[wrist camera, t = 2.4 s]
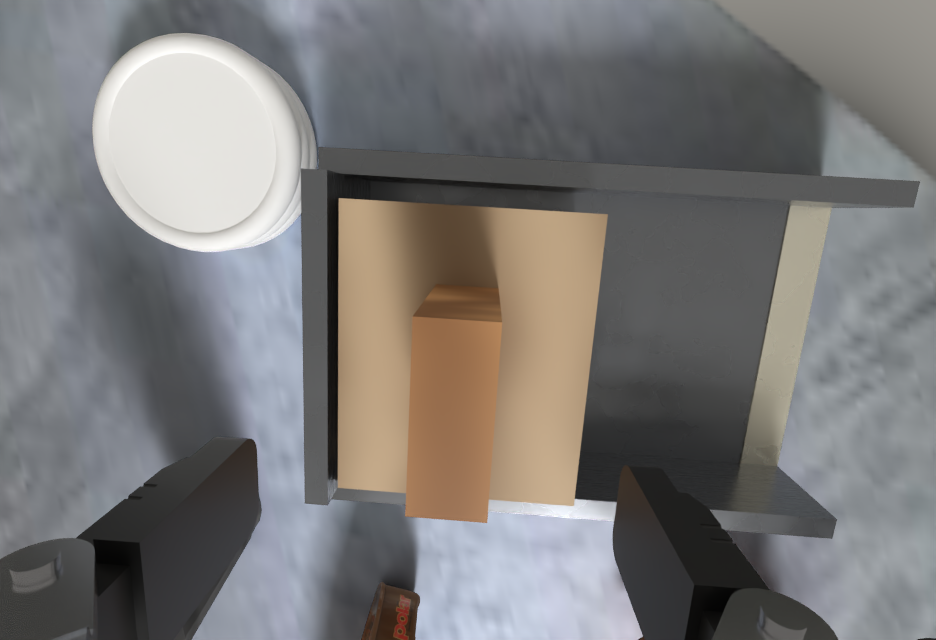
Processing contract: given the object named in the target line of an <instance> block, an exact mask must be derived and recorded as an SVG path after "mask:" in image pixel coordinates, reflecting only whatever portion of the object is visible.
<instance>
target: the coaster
mask: <svg viewBox="0 0 936 640" xmlns="http://www.w3.org/2000/svg"><path fill="white" fill-rule="evenodd" d="M92 132H93V145H94V151H95V157H96V160H97V164H98V167H99V170H100V173H101V175H102V178H103V180H104V183H105V184H106V186H107V188H108V190H109V192H110V194H111V195H112V197H113V198H114V200H115V201H116V202H117V204H118V205H119V207H120V208H121V209H122V210H123V211H124V212H125V214H126V215H127V216H128V217H129V218H130V219H131V220H132V221H134V222H135V223H136V224H137V225H138V226H139V227H141V228H142V229H143V230H145V231H146V232H148V233H149V234H151V235H152V236H154V237H156V238H158V239H160V240H162V241H164V242H166V243H169V244H171V245H174V246H177V247H179V248H184V249H188V250H192V251H200V252H221V251H227V250H234V249H240V248H247V247H253V246H256V245H259V244H262V243H265V242H267V241H269V240H271V239H273V238H275V237H277V236H278V235H279V234H281V233H282V232H284V231H285V230H286V229H287V228H288V227H289V226H291V225H292V224H293V223H294V221H295V220H296V219H297V218H298V216H299V215H300V214H301V168H303V169H317V148H316V141H315V136H314V131H313V128H312V125H311V122H310V119H309V116H308V114H307V112H306V110H305V108H304V106H303V104H302V102H301V101H300V99H299V97H298V96H297V94H296V93H295V92H294V90H293V89H292V88H291V86H290V85H289V84H288V83H287V82H286V81H285V80H284V79H283V78H282V77H281V76H280V75H279V74H278V73H276V72H275V71H274V70H273V69H271V68H270V67H269V66H267V65H266V64H264V63H262V62H261V61H259V60H258V59H256V58H255V57H253V56H251V55H250V54H248V53H247V52H246V51H244V50H242V49H240V48H239V47H237V46H235V45H234V44H231V43H229V42H227V41H224V40H222V39H219V38H216V37H212V36H208V35H202V34H192V33H174V34H167V35H162V36H157V37H154V38H152V39H149V40H146V41H144V42H142V43H141V44H139V45H137V46H135V47H133V48H132V49H131V50H129V51H128V52H127V53H126V54H124V55H123V56H122V57H121V58H120V59H119V60H118V61H117V62H116V63H115V65H114V66H113V67H112V68H111V70H110V71H109V73H108V74H107V76H106V77H105V79H104V81H103V83H102V86H101V88H100V90H99V93H98V96H97V99H96V102H95V108H94V113H93V126H92Z"/></svg>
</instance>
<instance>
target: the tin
mask: <svg viewBox="0 0 936 640" xmlns="http://www.w3.org/2000/svg"><path fill="white" fill-rule="evenodd" d="M419 604H420V597H419V595H418V594H417V593H415V592H412V591H409V590H405V589H401V588H397V587H393V586H389V585H385V583H384V582H381V583H380V584H379V585H378V588H377V590H376V593H375V597H374V600H373V603H372V606H371V609H370V612H369V615H368V619H367V622H366V625H365V629H364V632H363V635H362V639H361V640H415V631H416V621H417V610H418V606H419Z"/></svg>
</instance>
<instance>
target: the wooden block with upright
mask: <svg viewBox="0 0 936 640" xmlns="http://www.w3.org/2000/svg"><path fill="white" fill-rule="evenodd" d="M607 218H608V214H594V213H577V212H560V211H544V210H527V209H511V208H494V207H478V206H461V205H445V204H428V203H411V202H395V201H378V200H362V199H345V198H339V260H338V488H346V489H359V490H372V491H384V492H397V493H406V511H405V516H407V517H420V518H432V519H445V520H457V521H470V522H482V523H487V517H488V504H489V500H500V501H512V502H525V503H538V504H551V505H564V506H574V499H575V491H576V482H577V474H578V465H579V457H580V448H581V440H582V431H583V423H584V414H585V405H586V397H587V388H588V380H589V371H590V363H591V354H592V346H593V337H594V329H595V320H596V312H597V303H598V294H599V286H600V277H601V269H602V260H603V252H604V243H605V235H606V226H607Z"/></svg>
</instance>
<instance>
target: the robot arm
mask: <svg viewBox="0 0 936 640" xmlns="http://www.w3.org/2000/svg"><path fill="white" fill-rule="evenodd" d="M258 509H259V494H258V468H257V448H256V444H255V442H254V440H252V439H247V438H232V437H215V438H213V439H212V440H211V441H209V442H208V443H207V444H206V445H205V446H203V447H202V448H201V449H200V450H199V451H197V452H196V453H195V454H194V455H193V456H192V457H190V458H185V459H183V460H180V461H178V462H176V463H174V464H172V465H170V466H168V467H165V468H163V469H162V470H160V471H159V472H158V473H157V474H155V475H154V476H153V477H152V478H150V479H149V480H148V481H147V482H145V483H144V486H143V487H139V488H138V489H137V490H135V491H134V492H133V493H132V494H130V495H129V497H128V499H124V500H123V501H122V502H120V503H119V504H118V505H117V506H115V507H114V508H113V509H112V510H110V511H109V512H108V513H107V514H105V515H104V516H103V517H102V518H100V519H99V520H98V521H97V522H95V523H94V524H93V525H92V526H90V527H89V528H88V529H87V530H85V531H84V532H83V533H82V534H80V535H79V536H78V537H77V538H62V539H54V540H49V541H44V542H40V543H37V544H33V545H30V546H27V547H25V548H22V549H19V550H17V551H15V552H13V553H11V554H9V555H7V556H5V557H3V558H1V559H0V640H174V638H175V637H176V636H177V634H178V633H179V632H180V630H181V629H182V627H183V626H184V625H185V623H186V622H187V621H188V619H189V618H190V616H191V615H192V614H193V612H194V611H195V610H196V608H197V607H198V605H199V604H200V603H201V601H202V600H203V599H204V597H205V596H206V594H207V593H208V592H209V590H210V589H211V588H212V586H213V585H214V583H215V582H216V581H217V579H218V578H219V577H220V575H221V574H222V572H223V571H224V570H225V568H226V567H227V566H228V564H229V563H230V561H231V560H232V559H233V557H234V556H235V555H236V553H237V552H238V550H239V549H240V548H241V546H242V545H243V544H244V542H245V541H246V539H247V538H248V537H249V535H250V534H251V532H252V530H253V528H254V525H255V523H256V519H257V515H258ZM613 550H614V556H615V560H616V563H617V566H618V569H619V572H620V574H621V577H622V580H623V582H624V585H625V588H626V591H627V593H628V596H629V599H630V601H631V604H632V607H633V610H634V612H635V615H636V618H637V620H638V623H639V626H640V629H641V631H642V634H643V637H644V639H645V640H838V638H837V636H836V634H835V633H834V631H833V630H832V629H831V628H830V626H829V625H828V624H827V623H826V622H825V621H824V620H823V619H822V618H821V617H820V616H818V615H817V614H816V613H815V612H813V611H812V610H811V609H809V608H808V607H806V606H805V605H803V604H801V603H799V602H798V601H796V600H794V599H792V598H790V597H787V596H785V595H782V594H780V593H777V592H773V591H770V590H769V589H768V587H767V586H766V585H765V583H764V582H763V581H762V579H761V578H760V577H759V575H758V574H757V573H756V571H755V570H754V569H753V567H752V566H751V565H750V563H749V562H748V561H747V559H746V558H745V557H744V555H743V554H742V552H741V551H740V550H739V548H738V547H737V546H736V544H733V543H732V539H731V538H730V536H729V535H728V534H727V532H726V531H725V530H724V529H722V528H721V524H720V523H719V522H718V520H717V519H716V518H715V516H714V515H713V514H712V512H711V511H710V510H709V508H708V507H706V506H705V505H703V504H702V503H701V502H699V501H698V500H697V499H695V498H694V497H692V496H691V495H690V494H688V493H681V492H678V491H677V490H676V488H675V487H674V485H673V484H672V482H671V481H670V479H669V478H668V476H667V475H666V473H665V472H664V470H663V469H662V468H660V467H646V466H632V465H625V466H624V467H623V468H622V471H621V475H620V482H619V489H618V497H617V504H616V512H615V519H614V527H613ZM918 640H936V639H933V638H924V639H918Z"/></svg>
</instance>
